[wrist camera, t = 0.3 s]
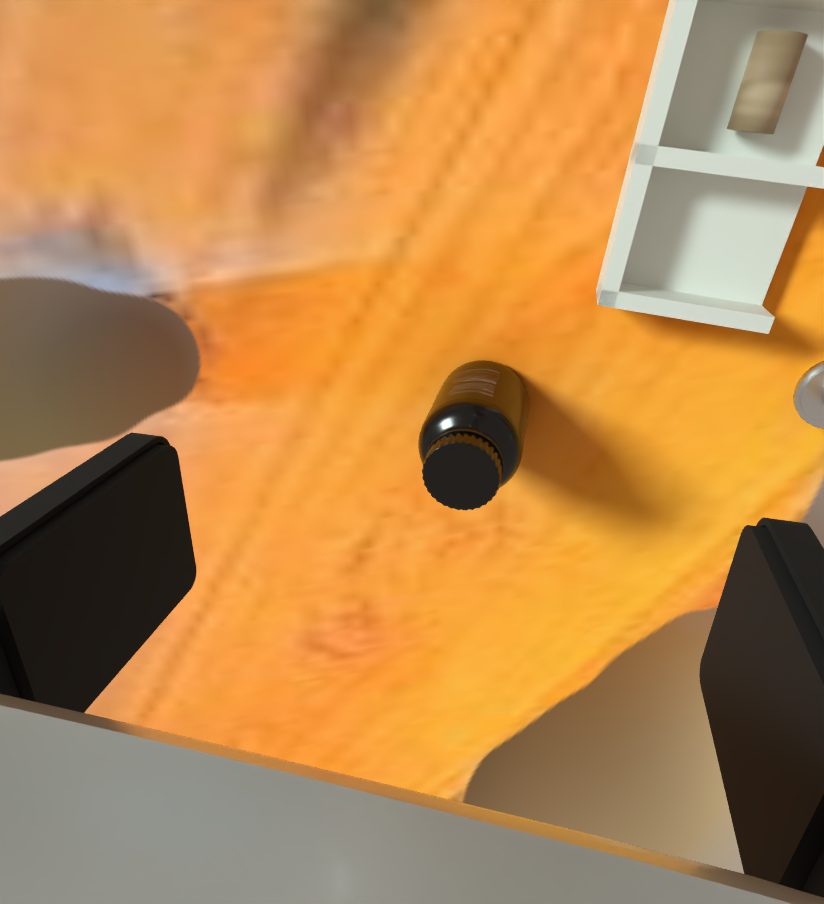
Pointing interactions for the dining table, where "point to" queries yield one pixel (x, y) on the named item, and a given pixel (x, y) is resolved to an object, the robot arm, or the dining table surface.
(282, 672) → the dining table surface
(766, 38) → the cork
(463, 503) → the supplement bottle
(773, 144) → the rack
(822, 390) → the screw
